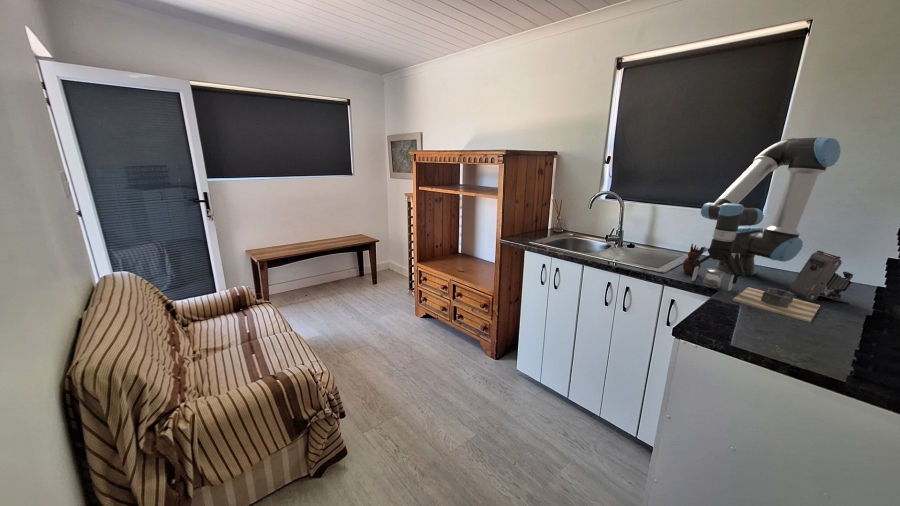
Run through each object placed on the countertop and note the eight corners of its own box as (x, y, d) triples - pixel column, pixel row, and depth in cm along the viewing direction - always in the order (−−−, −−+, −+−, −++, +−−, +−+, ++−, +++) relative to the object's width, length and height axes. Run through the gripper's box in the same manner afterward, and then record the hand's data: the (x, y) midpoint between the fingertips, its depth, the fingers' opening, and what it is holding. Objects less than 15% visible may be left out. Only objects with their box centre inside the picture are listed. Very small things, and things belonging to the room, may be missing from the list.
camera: (846, 313, 134) (880, 268, 127) (802, 299, 135) (833, 254, 129) (822, 302, 144) (853, 260, 138) (782, 289, 146) (810, 247, 140)
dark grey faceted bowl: (766, 295, 138) (769, 286, 137) (792, 302, 132) (795, 292, 131) (759, 301, 132) (762, 292, 131) (786, 308, 126) (790, 299, 125)
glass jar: (705, 281, 154) (708, 267, 152) (721, 286, 150) (725, 271, 148) (700, 284, 151) (703, 270, 149) (717, 289, 146) (721, 274, 144)
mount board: (747, 288, 147) (748, 287, 147) (819, 307, 130) (820, 305, 130) (732, 300, 134) (733, 298, 134) (810, 322, 117) (810, 320, 117)
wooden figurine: (679, 271, 167) (685, 242, 163) (686, 270, 170) (693, 241, 165) (693, 275, 162) (700, 246, 157) (700, 274, 164) (707, 245, 160)
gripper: (687, 234, 151) (676, 278, 157) (758, 247, 132) (743, 296, 138) (693, 232, 156) (682, 275, 162) (763, 244, 137) (748, 292, 143)
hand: (710, 284), depth 150 cm, fingers open, 13 cm apart
